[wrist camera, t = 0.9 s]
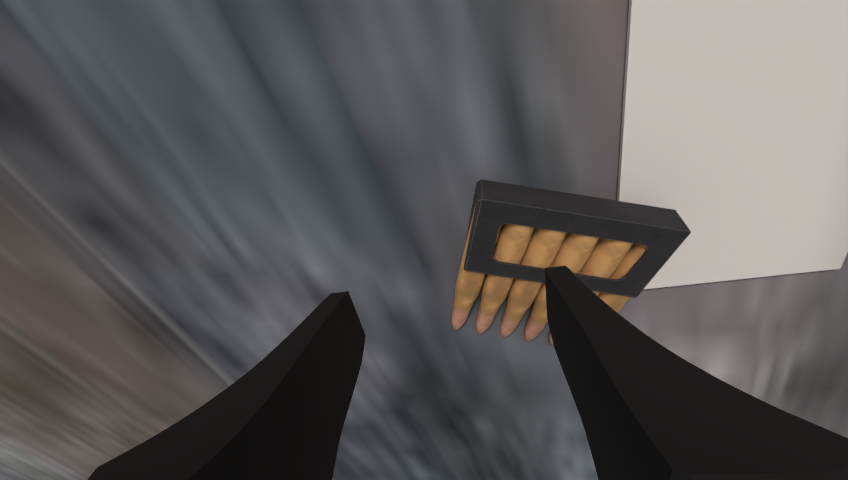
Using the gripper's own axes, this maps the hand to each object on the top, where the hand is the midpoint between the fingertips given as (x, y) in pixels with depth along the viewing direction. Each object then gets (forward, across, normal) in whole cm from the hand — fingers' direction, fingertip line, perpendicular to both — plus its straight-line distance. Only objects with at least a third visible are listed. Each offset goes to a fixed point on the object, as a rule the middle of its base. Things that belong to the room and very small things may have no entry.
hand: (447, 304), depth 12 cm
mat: (+10, -15, 0) cm, 18 cm away
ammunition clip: (+8, -6, +1) cm, 11 cm away
